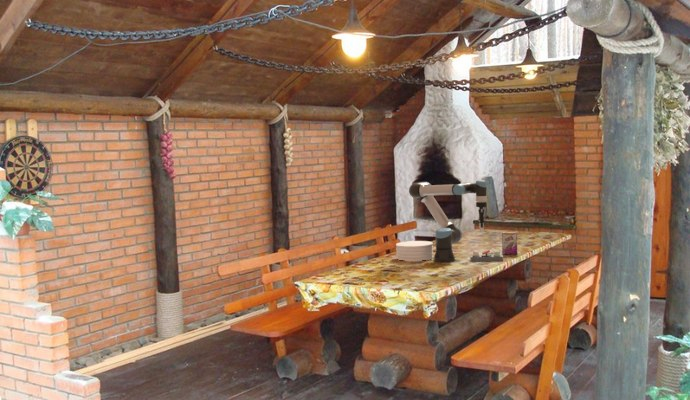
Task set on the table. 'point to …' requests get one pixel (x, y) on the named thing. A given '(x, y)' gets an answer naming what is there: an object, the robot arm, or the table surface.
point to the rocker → (486, 252)
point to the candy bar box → (509, 242)
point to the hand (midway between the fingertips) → (481, 230)
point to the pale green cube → (497, 253)
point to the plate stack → (414, 250)
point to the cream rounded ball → (475, 253)
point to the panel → (486, 258)
